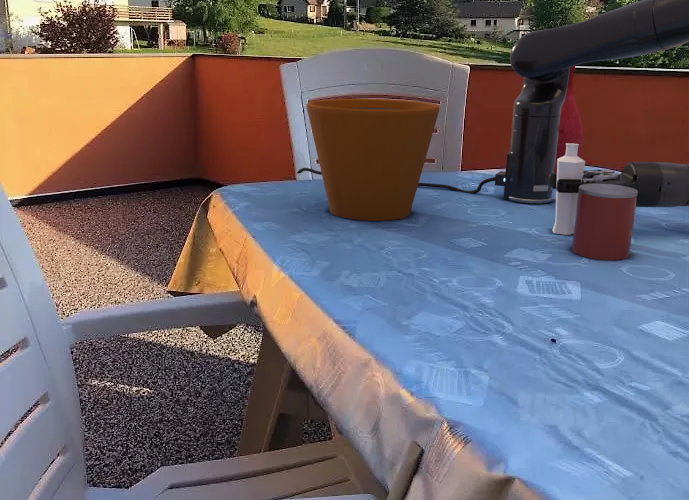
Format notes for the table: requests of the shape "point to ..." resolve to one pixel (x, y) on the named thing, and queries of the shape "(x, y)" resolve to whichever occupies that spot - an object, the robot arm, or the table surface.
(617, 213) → the tin can
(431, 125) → the flower pot
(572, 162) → the perfume bottle
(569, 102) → the wine bottle
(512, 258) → the table surface
